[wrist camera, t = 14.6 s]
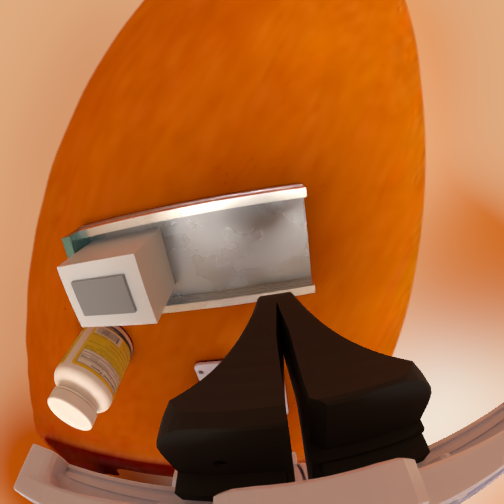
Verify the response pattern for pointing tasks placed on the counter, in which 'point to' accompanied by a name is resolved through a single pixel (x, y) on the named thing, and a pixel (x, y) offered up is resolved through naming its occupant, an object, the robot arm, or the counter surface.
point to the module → (119, 280)
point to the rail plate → (223, 245)
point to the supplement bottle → (90, 375)
